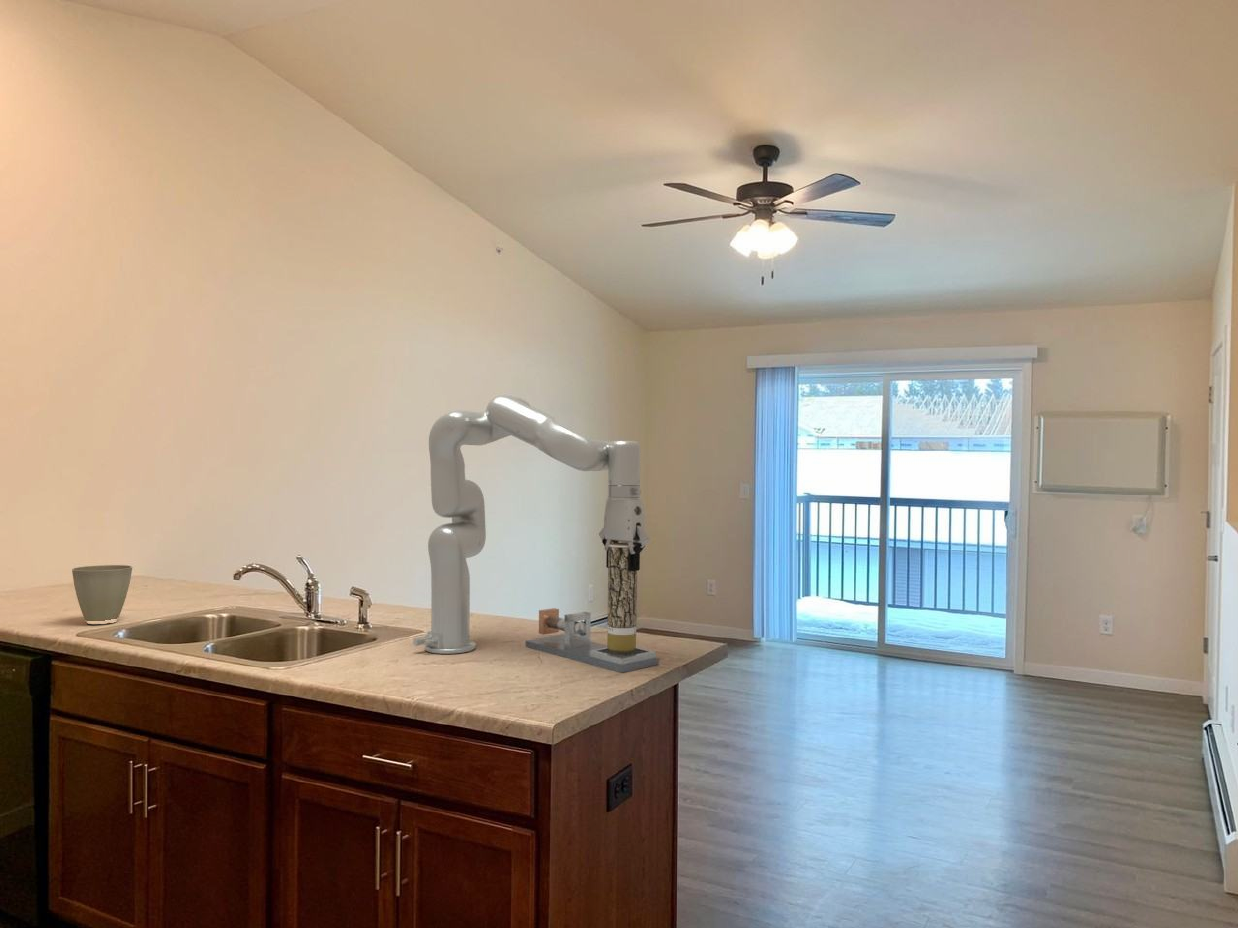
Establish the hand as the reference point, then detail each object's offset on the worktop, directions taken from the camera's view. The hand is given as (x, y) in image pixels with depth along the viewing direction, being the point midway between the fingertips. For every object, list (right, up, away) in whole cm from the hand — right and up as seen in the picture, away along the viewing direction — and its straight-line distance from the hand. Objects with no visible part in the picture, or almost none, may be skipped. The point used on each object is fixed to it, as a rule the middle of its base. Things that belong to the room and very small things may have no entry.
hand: (622, 568), depth 201 cm
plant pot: (-149, -21, +44) cm, 157 cm away
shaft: (-15, -19, +16) cm, 29 cm away
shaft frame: (-8, -22, +9) cm, 25 cm away
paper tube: (0, -19, 0) cm, 19 cm away
